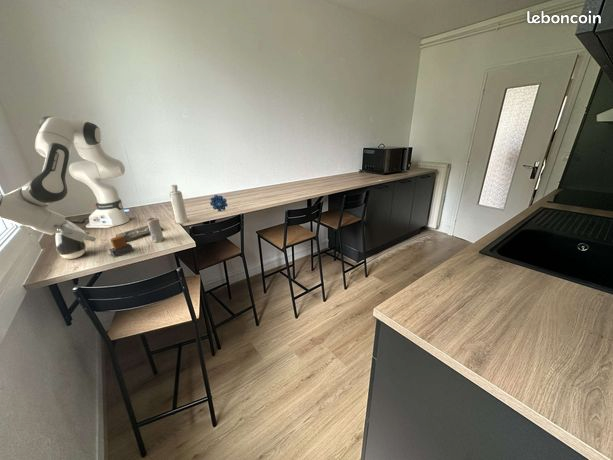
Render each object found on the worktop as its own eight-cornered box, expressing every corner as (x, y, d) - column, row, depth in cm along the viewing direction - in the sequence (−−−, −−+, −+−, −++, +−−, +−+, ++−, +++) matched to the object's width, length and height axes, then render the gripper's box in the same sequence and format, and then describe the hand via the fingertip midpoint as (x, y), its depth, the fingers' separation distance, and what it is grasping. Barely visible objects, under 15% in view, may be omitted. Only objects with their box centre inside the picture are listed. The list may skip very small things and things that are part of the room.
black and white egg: (94, 250, 125) (82, 222, 119) (77, 261, 115) (64, 231, 109) (73, 251, 125) (61, 222, 119) (55, 262, 115) (40, 231, 109)
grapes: (213, 214, 171) (210, 197, 167) (210, 211, 177) (207, 195, 172) (230, 211, 177) (227, 194, 172) (227, 208, 182) (224, 192, 177)
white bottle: (175, 223, 156) (165, 184, 146) (177, 220, 162) (168, 181, 152) (186, 223, 157) (177, 183, 147) (188, 219, 163) (180, 181, 153)
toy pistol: (124, 242, 133) (123, 240, 132) (116, 237, 139) (115, 234, 139) (163, 230, 147) (162, 228, 146) (153, 226, 154) (153, 223, 153)
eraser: (114, 257, 118) (108, 241, 115) (111, 254, 121) (105, 239, 117) (133, 250, 124) (128, 235, 121) (130, 248, 126) (125, 233, 123)
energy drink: (161, 237, 138) (155, 216, 133) (165, 239, 135) (160, 219, 130) (151, 240, 134) (144, 219, 130) (155, 243, 131) (149, 222, 127)
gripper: (63, 222, 95) (103, 236, 106) (52, 211, 107) (88, 225, 118) (53, 236, 94) (94, 249, 105) (42, 224, 105) (80, 237, 116)
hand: (91, 237), depth 111 cm, fingers open, 8 cm apart
